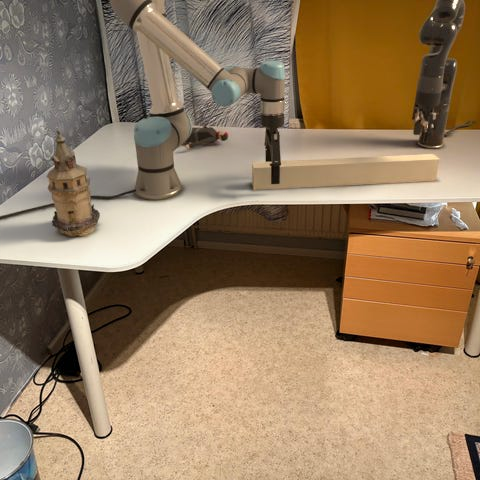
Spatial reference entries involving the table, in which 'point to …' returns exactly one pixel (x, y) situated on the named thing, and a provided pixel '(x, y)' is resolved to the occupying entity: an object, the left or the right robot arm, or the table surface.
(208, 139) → the toy
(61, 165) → the miniature building
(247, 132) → the table surface
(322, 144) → the table surface
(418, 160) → the beam
